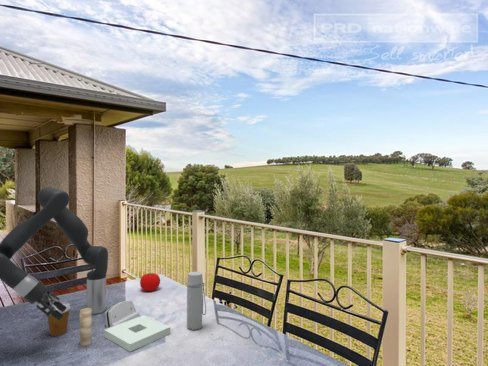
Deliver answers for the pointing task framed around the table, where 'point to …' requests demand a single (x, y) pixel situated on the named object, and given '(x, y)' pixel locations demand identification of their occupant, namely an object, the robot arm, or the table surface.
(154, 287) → the tomato
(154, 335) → the collar block
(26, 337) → the table surface
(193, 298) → the water bottle
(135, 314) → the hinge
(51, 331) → the disposable coffee cup
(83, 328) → the birch pin
